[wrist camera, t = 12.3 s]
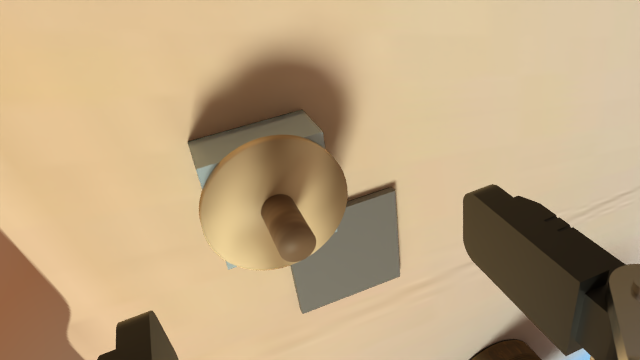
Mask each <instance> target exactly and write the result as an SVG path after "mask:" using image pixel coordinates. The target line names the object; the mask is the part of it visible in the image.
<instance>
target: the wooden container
mask: <svg viewBox="0 0 640 360" xmlns="http://www.w3.org/2000/svg"><path fill="white" fill-rule="evenodd" d="M471 360H541V359H540V358H539V357H538V355H537V354H536V353H535V352H534V351H533V350H532V349H531V348H530V347H529V346H528V345H527V344H526V343H524V342H523V341H520V340H507V341H503V342H499V343H497V344H494V345H492V346H490V347H488V348H487V349H485V350H483V351H482V352H480V353H479V354H477V355H476V356H475V357H474V358H472V359H471Z"/></svg>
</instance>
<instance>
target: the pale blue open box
mask: <svg viewBox="0 0 640 360" xmlns="http://www.w3.org/2000/svg"><path fill="white" fill-rule="evenodd" d="M271 135H294V136H300V137H303V138H306V139H309V140H311V141H313V142H316V143H317V144H319V145H320V146H322V147H323V148H324V149H325V143H324V136H323V131H322V130H321V129H320V128H319V127H318V126H317V125H316V124H315V123H314V122H313V121H312V120H311V119H310V117H309V116H308V115H307V114H306V113H305V112H304V111H303V110H299V111H296V112H292V113H288V114H285V115H281V116H278V117H274V118H271V119H267V120H263V121H260V122H256V123H253V124H249V125H246V126H242V127H238V128H235V129H231V130H228V131H224V132H221V133H217V134H213V135H210V136H206V137H203V138H199V139H196V140H192V141H188V145H189V148H190V152H191V155H192V158H193V161H194V165H195V168H196V171H197V174H198V177H199V180H200V183H201V187H202V190H203V187H204V185H205V182H206V181H207V179H208V177H209V175H210V174H211V172H212V171H213V169H214V168H215V167H216V166H217V165H218V163H219V162H220V161H221V160H222V159H223V158H224V157H226V156H227V155H228V154H229V153H230V152H232V151H233V150H235V149H236V148H238V147H240V146H241V145H243V144H245V143H248V142H250V141H252V140H255V139H258V138H261V137H266V136H271ZM335 232H337V229H336V231H335ZM226 263H227V267H228V270H229V269H232V268H234V267H237V266H235V265H233V264H230V263H229V262H227V261H226Z"/></svg>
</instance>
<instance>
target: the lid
mask: <svg viewBox="0 0 640 360" xmlns="http://www.w3.org/2000/svg"><path fill="white" fill-rule="evenodd" d="M347 196H348V194H347V184H346V179H345V176H344V173H343V171H342V169H341V167H340V166H339V164H338V163H337V162H336V160H335V159H334V158H333V157H332V156H331V154H330V153H329V152H328V151H326V150H325V149H324V148H323V147H322V146H320V145H319V144H317V143H316V142H313V141H311V140H309V139H306V138H303V137H300V136H294V135H271V136H266V137H261V138H258V139H255V140H252V141H250V142H248V143H245V144H243V145H241V146H240V147H238V148H236V149H235V150H233V151H232V152H230V153H229V154H228V155H227V156H226V157H224V158H223V159H222V160H221V161H220V162H219V163H218V165H217V166H216V167H215V168H214V169H213V171H212V172H211V174H210V175H209V177H208V179H207V181H206V182H205V185H204V187H203V190H202V193H201V197H200V203H199V216H200V222H201V226H202V229H203V233H204V236H205V238H206V240H207V242H208V244H209V245H210V247H211V248H212V249H213V251H214V252H215V253H216V254H217V255H218V256H220V257H221V258H222V259H223V260H225V261H227V262H229V263H230V264H233V265H235V266H238V267H241V268H245V269H250V270H274V269H279V268H283V267H286V266H290V265H292V264H295V263H297V262H299V261H301V260H304V259H306V258H307V257H309V256H310V255H312V254H313V253H315V252H316V251H317V250H318V249H319V248H321V247H322V246H323V245H324V244H325V243H326V242H327V241H328V240H329V239H330V237H331V236H332V235H333V234H334V232H335V231H336V229H337V228H338V226H339V224H340V222H341V220H342V218H343V215H344V212H345V209H346V204H347Z"/></svg>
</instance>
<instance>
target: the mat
mask: <svg viewBox="0 0 640 360" xmlns="http://www.w3.org/2000/svg"><path fill="white" fill-rule="evenodd" d="M291 270H292V274H293V279H294V283H295V288H296V292H297V296H298V301H299V305H300V309H301V311H302V314H304V313H307V312H309V311H312V310H314V309H317V308H320V307H322V306H325V305H327V304H330V303H333V302H335V301H338V300H340V299H343V298H345V297H348V296H351V295H353V294H356V293H358V292H361V291H364V290H366V289H369V288H371V287H374V286H376V285H379V284H382V283H384V282H387V281H389V280H392V279H395V278H397V277H400V265H399V248H398V231H397V213H396V196H395V190H394V189H393V188H392V187H390V188H387V189H384V190H381V191H378V192H375V193H372V194H369V195H366V196H363V197H360V198H357V199H354V200H351V201H348V202H347V204H346V209H345V212H344V215H343V218H342V220H341V222H340V224H339V226H338V228H337V232H334V234H333V235H332V236H331V237H330V239H329V240H328V241H327V242H326V243H325V244H324V245H323V246H322V247H321V248H319V249H318V250H317V251H316V252H315V253H313V254H312V255H310V256H309V257H307V258H306V259H304V260H301V261H299V262H297V263H295V264H292V265H291Z"/></svg>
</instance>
